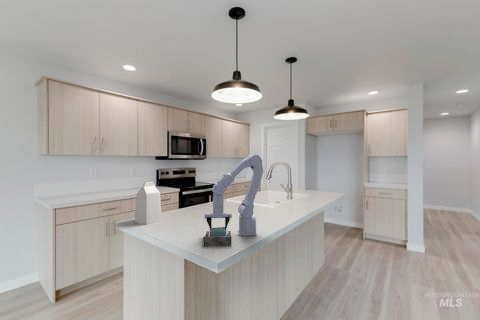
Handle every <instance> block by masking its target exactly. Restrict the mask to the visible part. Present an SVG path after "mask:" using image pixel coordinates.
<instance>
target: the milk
mask: <svg viewBox="0 0 480 320" xmlns="http://www.w3.org/2000/svg"><path fill="white" fill-rule="evenodd" d="M135 195H136V197H135V213H134V216H135V217H134V223H136V222H137V224H140V225H144V224H145V225H144V226H147V225H151V224H154V223H157V222H161V221H162V220H163V217H162V216H163V215H162V202H161V199H162V198H161V192H160V191H159V190H158V188H157V187H156V185H155V184H154V181H147V182H143V184H142V187H141V188H140V189H138V191H137V192H136V194H135Z"/></svg>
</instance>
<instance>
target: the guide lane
mask: <svg viewBox="0 0 480 320" xmlns="http://www.w3.org/2000/svg"><path fill="white" fill-rule="evenodd" d="M202 241H203V242H202V247H211V246H212V247H213V246H215V247H217V246H219V247H221V246H222V247H223V246H228V247H229V246H232V233H231V230H227V235H226V236H210V230H209V231H206V232H205V236H203V238H202Z"/></svg>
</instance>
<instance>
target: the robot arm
mask: <svg viewBox="0 0 480 320" xmlns="http://www.w3.org/2000/svg"><path fill="white" fill-rule="evenodd" d="M248 168H250V169H251V170H252V172H253V173H252V176H251V179H250V182H249V185H248V187H247V190H246V194H245V196H244V198H243V200H242V202H241V203H240V205H239V206H238V208H237V211H238V213H239V216H238V230H237V233H238V236H239V237H240V236H244V237H245V236H257V219H256V217H253V215H254V208H255V205H254V201H255V199H256V196H257V192H258V189H259V188H260V187H259V186H260V183H261V180H262V178H263V175H264V167H263V159H262V158H261V156H260V155H258V154H248V155H247V156H246V157H244V159H242V161H240V163H239V164H238V165H237V166H236V167H235V168H234V169H233V170H232V171H231V172H230V173H226V174H222V177H221V179H219V180H217V181H216V183H215V184H213V186H212V189H211V191H212V213H205V214H204V219H206V223H207V225H208V228H209V229H210V228H213V227H212V226H213V225H212V220H213V219H224V222H225V223H224V227H225V229H226V230H227V229H228V225H229V222H230V221H231V219H232V218H233V216H232V215H233V214H232V213H224V208H225V207H224V206H225V205H224V194H225V192H226V190H227V189H228V188H229V187H230V186H231V185H232V184H233V183H234V182H235V178H236V177H237V176H238V175H239V174H241V172H242V171H243V170H245V169H248Z"/></svg>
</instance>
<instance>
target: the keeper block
mask: <svg viewBox="0 0 480 320" xmlns="http://www.w3.org/2000/svg"><path fill="white" fill-rule="evenodd" d="M209 236H227V229H225V226H221V227H220V226H219V227H212V228H209Z"/></svg>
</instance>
